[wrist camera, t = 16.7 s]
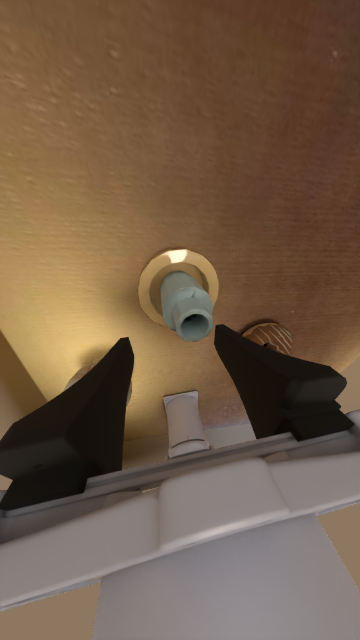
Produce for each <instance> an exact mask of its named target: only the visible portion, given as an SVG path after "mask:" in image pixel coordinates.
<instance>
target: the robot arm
mask: <svg viewBox="0 0 360 640" xmlns="http://www.w3.org/2000/svg"><path fill="white" fill-rule="evenodd" d="M214 345H215V348H216V350H217V352H218V355H219V357H220V358H221V360H222V362H223V364H224V365H225V367H226V369H227V371H228V372H229V374H230V376H231V378H232V380H233V381H234V384H235V386H236V388H237V390H238V393H239V395H240V397H241V400H242V402H243V404H244V407H245V410H246V412H247V415H248V417H249V420H250V422H251V425H252V428H253V431H254V433H255V436H256V439H257V440H253V441H248V442H244V443H239V444H235V445H230V446H226V447H222V448H217V449H215V448H214V447H213V446H209V443H208V441H207V440H206V438H205V435H204V430H203V426H202V422H201V418H200V414H199V411H198V392H197V391H192V392H187V393H181V394H176V395H170V396H165V397H164V398H163V400H164V404H165V409H166V414H167V418H168V430H169V444H170V449H169V456H166V457H165V460H164V461H161V462H156V463H152V464H148V465H143V466H139V467H135V468H130V469H126V470H122V454H123V438H124V424H125V413H126V404H127V397H128V391H129V387H130V382H131V377H132V372H133V367H134V354H133V350H132V347H131V344H130V340H129V337H125V338H120V339H119V340H118V342H117V343H116V344H115V345H114V346H113V347H112V348H111V350H110V351H109V352H108V353H107V354H106V355H105V356H104V357H103V358H102V359H101V360H100V361H99V362H98V363H97V364H96V365H95V366H94V367H93V368H92V369H91V370H90V371H89V372H88V373H87V374H85V375H84V376H83V377H82V378H81V379H79V380H78V381H77V382H76V383H74V384H73V385H72V386H70V387H69V388H68V389H66V390H65V391H64V392H62V393H61V394H59V395H58V396H57V397H55V398H54V399H52V400H51V401H49V402H48V403H46V404H45V405H43V406H42V407H40V408H38V409H37V410H35V411H33V412H32V413H30V414H28V415H27V416H25V417H23V418H22V419H20V420H19V421H17V422H15V423H13V424H12V426H11V427H10V428H9V430H8V431H7V432H6V434H5V435H4V436H3V438H2V439H1V440H0V474H1V475H3V476H5V477H8V478H10V479H12V480H13V481H12V483H11V485H10V486H9V488H8V490H0V611H2V610H6V609H10V608H13V607H16V606H20V605H23V604H27V603H30V602H33V601H37V600H40V599H43V598H47V597H50V596H54V595H57V594H61V593H64V592H67V591H71V590H74V589H78V588H81V587H85V586H88V585H91V584H95V583H98V582H101V583H100V590H99V597H98V602H97V609H96V615H95V621H94V628H93V634H92V640H360V591H359V589H358V587H357V586H356V584H355V582H354V580H353V579H352V577H351V575H350V574H349V572H348V570H347V568H346V567H345V565H344V563H343V561H342V560H341V558H340V556H339V554H338V553H337V551H336V549H335V548H334V546H333V544H332V543H331V541H330V539H329V537H328V536H327V534H326V532H325V530H324V529H323V527H322V525H321V523H320V522H319V520H318V519H317V517H316V516H319V515H322V514H325V513H329V512H332V511H335V510H339V509H342V508H345V507H348V506H351V505H355V504H358V503H360V410H355V411H351V412H348V413H346V414H343V413H342V412H341V411H340V410H339V409H340V408H341V406H340V405H339V404H338V403H337V402H336V401H335V399H336V398H337V397H338V395H340V393H341V392H342V391H343V390H344V388H345V387H346V384H347V381H346V378H344V377H343V376H342V375H340V374H339V373H338V372H336V371H335V370H334V369H332V368H331V367H330V366H327V365H322V364H318V363H314V362H309V361H305V360H302V359H298V358H295V357H291V356H288V355H285V354H282V353H279V352H277V351H274V350H271V349H269V348H266V347H264V346H262V345H260V344H257V343H255V342H253V341H251V340H249V339H248V338H246V337H244V336H242V335H240V334H239V333H237V332H235V331H234V330H232V329H230V328H228V327H227V326H225V325H223V324H221V325H216V328H215V340H214ZM156 487H159V488H156ZM152 488H156V489H153V490H150V491H148V492H145V493H142V491H143V490H148V489H152Z"/></svg>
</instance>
